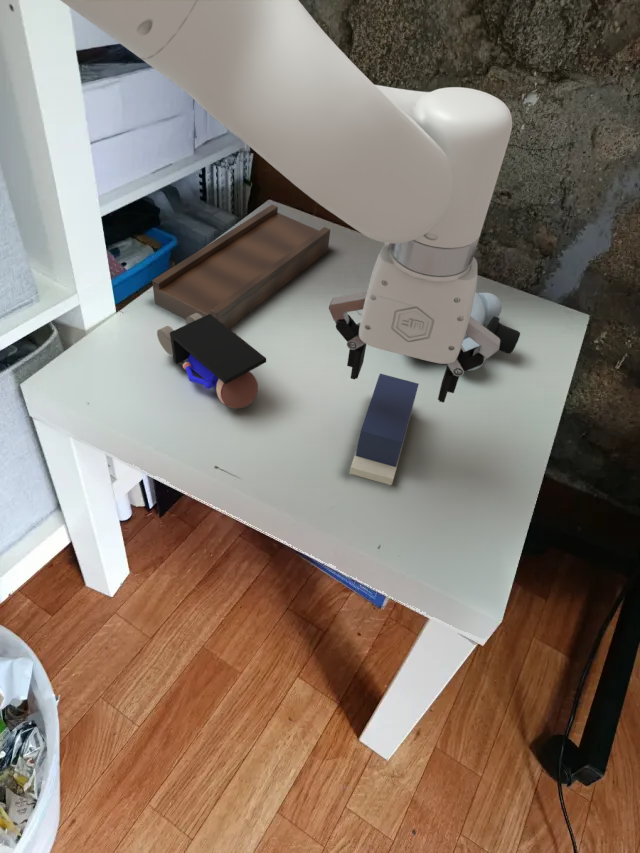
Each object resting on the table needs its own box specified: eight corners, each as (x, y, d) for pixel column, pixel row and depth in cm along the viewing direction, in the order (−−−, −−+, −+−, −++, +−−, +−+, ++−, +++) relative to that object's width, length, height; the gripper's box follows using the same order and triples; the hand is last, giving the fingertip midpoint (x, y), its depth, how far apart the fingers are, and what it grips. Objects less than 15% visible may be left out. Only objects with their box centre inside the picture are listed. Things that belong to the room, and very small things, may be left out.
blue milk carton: (391, 485, 72) (400, 454, 68) (349, 473, 73) (355, 442, 69) (410, 414, 81) (419, 382, 76) (372, 403, 81) (379, 371, 77)
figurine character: (158, 368, 84) (228, 425, 76) (148, 319, 78) (223, 375, 71) (200, 348, 87) (271, 401, 79) (193, 300, 82) (269, 351, 74)
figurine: (352, 349, 87) (490, 407, 85) (368, 300, 81) (517, 361, 79) (389, 283, 99) (511, 333, 97) (405, 236, 92) (536, 288, 90)
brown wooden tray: (217, 337, 87) (217, 313, 84) (154, 303, 90) (151, 280, 87) (327, 251, 104) (330, 229, 101) (271, 226, 107) (272, 204, 104)
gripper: (328, 243, 56) (313, 384, 68) (527, 289, 53) (473, 426, 66) (350, 203, 61) (332, 342, 73) (532, 244, 58) (481, 379, 71)
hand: (399, 382), depth 70 cm, fingers open, 9 cm apart
